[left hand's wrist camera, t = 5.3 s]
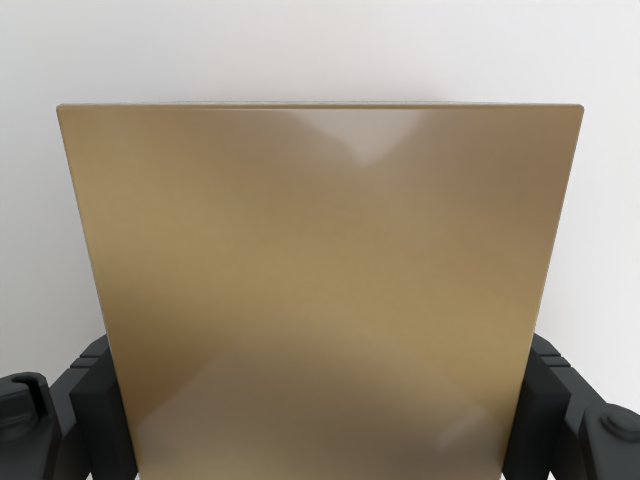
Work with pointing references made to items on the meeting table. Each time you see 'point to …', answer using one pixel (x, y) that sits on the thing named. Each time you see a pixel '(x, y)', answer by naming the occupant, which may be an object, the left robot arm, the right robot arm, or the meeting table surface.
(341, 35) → the meeting table surface
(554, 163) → the wide beam
